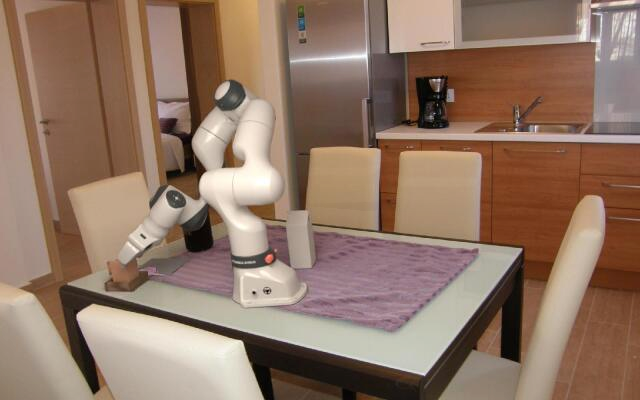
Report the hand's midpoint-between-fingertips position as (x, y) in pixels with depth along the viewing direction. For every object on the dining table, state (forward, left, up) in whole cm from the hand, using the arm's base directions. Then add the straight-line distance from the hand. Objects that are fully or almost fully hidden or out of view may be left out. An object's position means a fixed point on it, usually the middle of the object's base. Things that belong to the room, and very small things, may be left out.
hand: (130, 261), depth 190 cm
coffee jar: (-7, -35, -9) cm, 37 cm away
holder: (+2, +1, -8) cm, 9 cm away
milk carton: (-54, -17, -9) cm, 57 cm away
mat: (-1, -15, -8) cm, 18 cm away
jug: (+4, +1, -8) cm, 9 cm away
